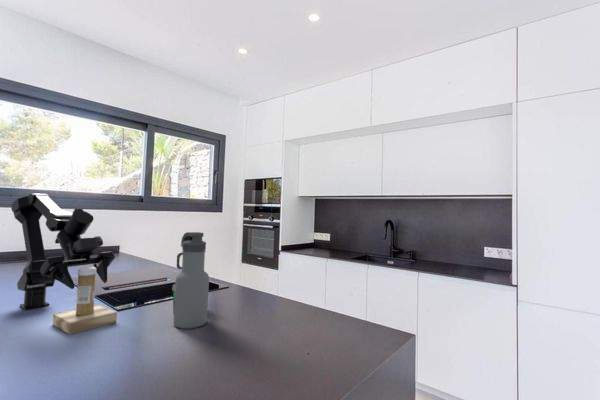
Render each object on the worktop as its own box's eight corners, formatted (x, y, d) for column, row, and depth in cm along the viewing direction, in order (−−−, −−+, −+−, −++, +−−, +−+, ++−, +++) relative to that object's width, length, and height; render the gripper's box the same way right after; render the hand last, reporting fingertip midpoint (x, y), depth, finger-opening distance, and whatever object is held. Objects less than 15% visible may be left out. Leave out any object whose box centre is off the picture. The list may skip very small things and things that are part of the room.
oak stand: (52, 324, 91) (53, 314, 91) (97, 314, 101) (98, 304, 101) (70, 334, 84) (71, 323, 84) (116, 322, 94) (116, 312, 94)
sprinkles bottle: (97, 311, 94) (100, 267, 95) (86, 316, 90) (89, 269, 91) (82, 310, 95) (85, 266, 95) (71, 315, 90) (74, 268, 91)
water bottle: (167, 322, 95) (171, 231, 96) (196, 315, 102) (200, 231, 103) (182, 332, 88) (187, 233, 89) (213, 324, 95) (217, 233, 96)
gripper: (48, 228, 87) (66, 272, 82) (113, 227, 104) (132, 263, 98) (32, 254, 90) (49, 298, 85) (98, 248, 107) (116, 285, 101)
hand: (90, 284), depth 92 cm, fingers open, 9 cm apart
